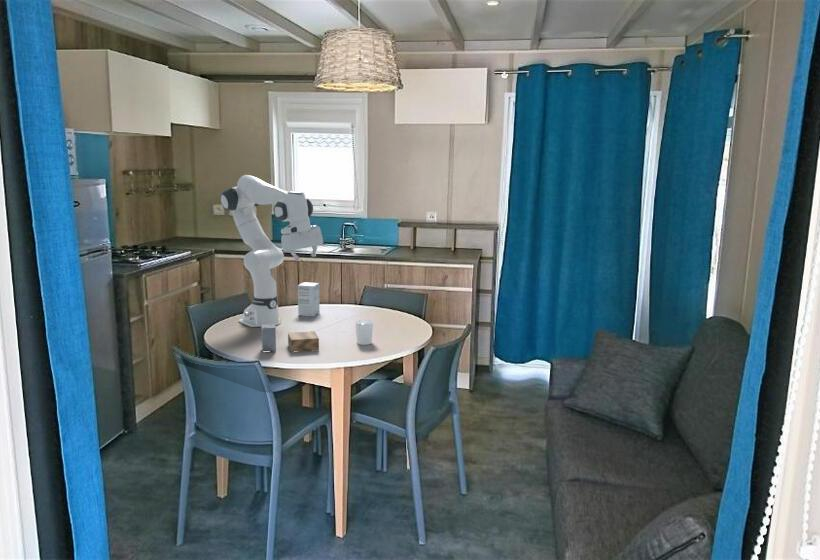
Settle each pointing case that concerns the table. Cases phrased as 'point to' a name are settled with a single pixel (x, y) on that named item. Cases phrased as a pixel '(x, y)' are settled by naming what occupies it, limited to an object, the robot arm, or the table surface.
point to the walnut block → (303, 341)
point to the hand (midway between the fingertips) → (305, 258)
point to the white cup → (364, 332)
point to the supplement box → (308, 299)
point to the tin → (268, 337)
